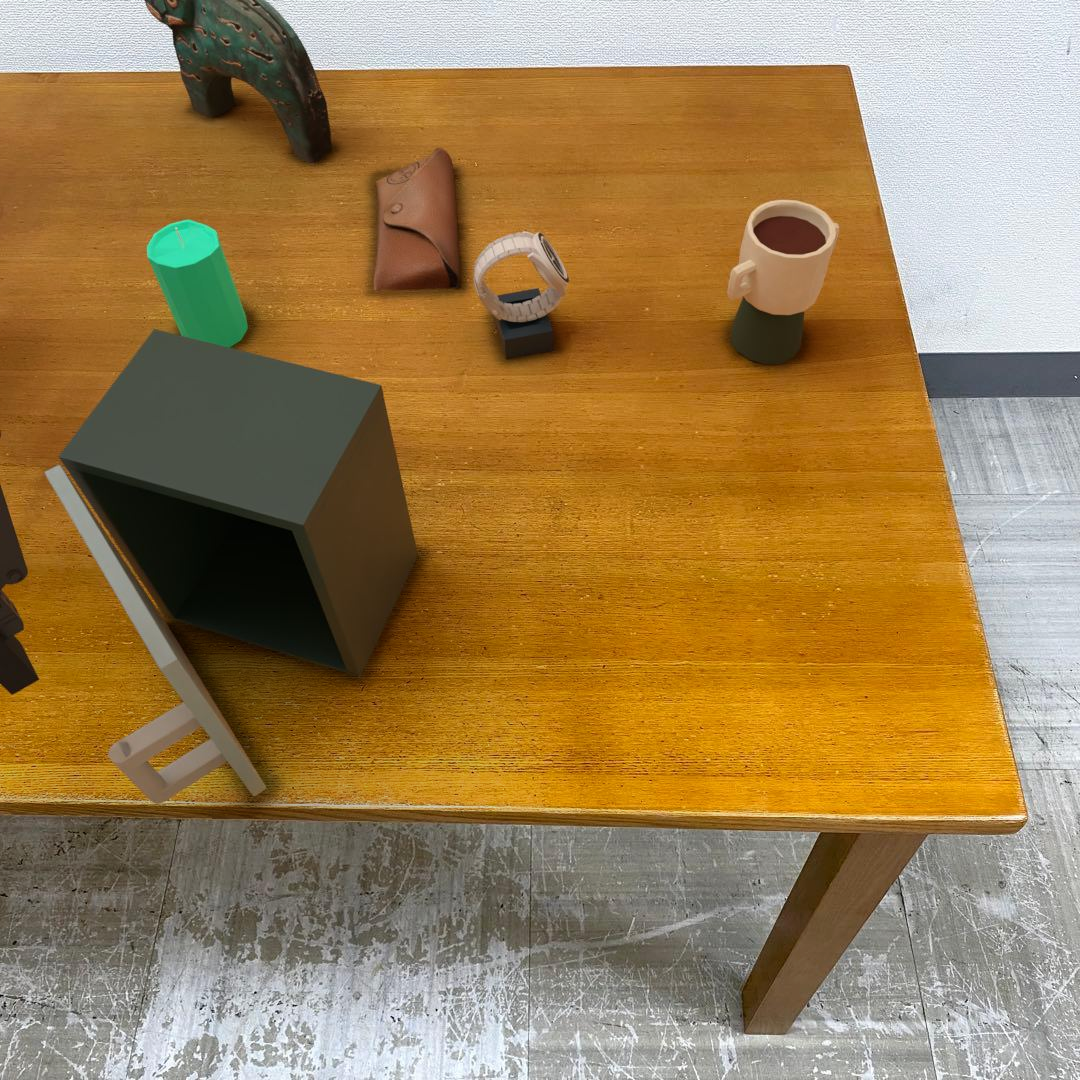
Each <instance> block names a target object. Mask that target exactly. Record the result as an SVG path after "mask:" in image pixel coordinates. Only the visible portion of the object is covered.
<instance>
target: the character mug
mask: <svg viewBox="0 0 1080 1080" xmlns="http://www.w3.org/2000/svg"><path fill="white" fill-rule="evenodd" d="M839 234H840V225H839V223H838V222H834V220H833V219H832V218H831V217H830V216H829V215H828V213H827V212H825V211H824V210H822V209H820V208H819V207H817V206H815V205H814V204H810V203H807V202H803V201H801V200H800V201H799V200H796V199H776V200H770V201H767V202H764V203H761V204H760V205H759V206H757V207H756V208H755V209H754V210H752V211H751V213H750V215H749V217H748V220H747V222H746V224H745V227H744V233H743V238H742V240H741V245H740V249H739V259H738V263H737V265H735V266H734V267H733V268H732V269H731V271H730V275H729V279H728V285H727V290H726V292H727V297H728V299H729V300H731V301H735V300H738V299H741V301H740V303H739V306H738V309H737V311H736V313H735V317H734V319H733V323H732V326H731V328H730V329H731V330H730V344H731V346H732V347H733V348H734V349H735V351H736V352H737V353H738V354H740V355H742V356H743V357H744V358H747V359H748V360H749V361H752V362H756V363H759V364H763V365H766V366H767V365H781V364H784V363H785V362H788V361H789V360H792V359H793V358H795V356H796V355H797V353H798V352H799V350H800V349H801V347H802V340H803V333H804V322H805V311H807V310H808V309H809V308H810V307H811V306H813V305H815V303H816V302H817V300H818V297H819V295H820V293H821V290H822V288H823V285H824V281H825V279H826V274H827V271H828V267H829V264H830V260H831V256H832V255H833V253H834V250H835V248H836V245H837V241H838V239H839V238H838V237H839Z"/></svg>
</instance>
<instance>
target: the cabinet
mask: <svg viewBox="0 0 1080 1080" xmlns="http://www.w3.org/2000/svg"><path fill="white" fill-rule="evenodd" d="M384 396H385V395H384V391H383V385H382V384H378V383H375V382H371V381H366V380H362V379H358V378H354V377H350V376H346V375H341V374H339V373H334V372H330V371H326V370H321V369H318V368H313V367H310V366H307V365H306V366H305V365H302V364H298V363H293V362H289V361H284V360H281V359H278V358H273V357H269V356H265V355H261V354H257V353H253V352H250V351H249V352H248V351H245V350H241V349H237V348H233V347H230V348H229V347H225V346H221V345H217V344H213V343H208V342H204V341H200V340H196V339H192V338H188V337H184V336H181V334H176V333H171V332H168V331H164V330H159V329H153V330H152V331H151V332H150V334H149V335H148V336H147V338H146V339H145V341H144V342H143V343H142V344H141V346H140V347H139V349H138V350H137V351H136V352H135V354H134V355H133V356H132V358H131V359H130V361H129V362H128V363H127V364H126V366H125V367H124V369H123V370H122V371H121V373H120V374H119V375H118V376H117V378H116V379H115V380H114V381H113V383H112V384H111V386H110V387H109V389H108V390H107V391H106V392H105V393H104V394H103V396H102V397H101V399H100V400H99V402H98V403H97V405H96V406H95V407H94V408H93V410H92V411H91V412H90V414H89V415H88V416H87V418H86V419H85V421H84V422H83V423H82V424H81V426H79V428H78V430H77V431H76V432H75V433H74V435H73V436H72V438H71V439H70V440H69V442H67V445H66V446H65V447H64V448H63V450H62V451H61V452H60V453H59V454H58V458H59V461H61V463H62V465H63V466H64V467H65V468H66V470H67V472H68V473H69V475H70V477H71V478H72V479H73V482H75V484H76V485H77V487H78V488H79V490H80V491H81V493H82V495H83V496H84V497H85V499H86V500H87V502H88V503H89V505H90V506H91V508H92V509H93V511H94V513H95V514H96V515H97V517H98V519H99V520H100V521H101V523H102V525H103V526H104V527H105V529H106V531H107V532H108V533H109V535H110V537H111V538H112V539H113V541H114V542H115V544H116V545H117V547H118V549H119V550H120V552H121V553H122V555H123V556H124V557H125V559H126V560H127V562H128V564H129V565H130V567H131V568H132V569H133V571H134V574H136V577H138V578H139V580H140V581H141V583H142V584H143V586H144V587H145V589H146V591H147V592H148V594H149V595H150V597H151V598H152V600H153V601H154V603H155V604H156V605H157V607H158V609H159V610H160V612H161V613H162V615H163V616H164V617H163V618H166V619H169V620H173V621H176V622H178V623H182V624H185V625H188V626H193V627H196V628H198V629H202V630H205V631H208V632H211V633H215V634H218V635H221V636H225V637H227V638H231V639H235V640H238V641H241V642H244V643H247V644H250V645H253V646H258V647H260V648H264V649H267V650H270V651H273V652H276V653H279V654H283V655H286V656H289V657H293V658H296V659H299V660H303V661H306V662H309V663H312V664H315V665H319V666H322V667H325V668H329V669H332V670H335V671H339V672H341V673H344V674H348V675H352V676H354V677H358V678H361V677H362V674H363V672H364V670H365V668H366V666H367V664H368V662H369V659H370V658H371V656H372V655H373V654H372V653H373V652H374V649H375V647H376V645H377V643H378V641H379V639H380V637H381V634H382V632H383V630H384V628H385V626H386V624H387V622H388V620H389V618H390V615H391V614H392V611H393V609H394V607H395V605H396V603H397V601H398V599H399V597H400V595H401V593H402V590H403V588H404V586H405V584H406V582H407V580H408V578H409V576H410V573H411V571H412V569H413V567H414V565H415V563H416V562H417V559H418V556H419V553H418V549H417V543H416V539H415V535H414V530H413V525H412V521H411V520H412V519H411V516H410V512H409V506H408V502H407V498H406V493H405V489H404V484H403V480H402V479H403V478H402V475H401V470H400V464H399V461H398V455H397V452H396V447H395V443H394V438H393V433H392V428H391V423H390V419H389V415H388V411H387V406H386V400H385V397H384Z"/></svg>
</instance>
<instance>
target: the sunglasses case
mask: <svg viewBox="0 0 1080 1080" xmlns="http://www.w3.org/2000/svg"><path fill="white" fill-rule="evenodd" d="M454 173H455V172H454V166H453V159H452V157H451V155H450V154H449V153H448V151H447V150H445V149H444V148H442V147H436V148H435V149H434V150H433V151H432V152H431V153H430V155H427V156H426V157H423V158H421V159H420V160H419V159H418V160H417V161H415V162H413V163H411V164H409V165H407V166H405V167H403V168H400V169H399V170H397V171H394V172H392V173H390V174H388V175H387V176H385V177H382V178H380V179H378V180H377V181H375V191H376V193H375V194H376V200H377V201H376V204H377V234H376V255H375V256H376V257H375V267H374V275H373V291H375V292H379V291H416V290H438V289H439V290H440V289H451V288H455V290H459V288H460V286H461V264H460V249H459V246H460V245H459V232H458V218H457V215H458V214H457V199H456V185H455V174H454Z"/></svg>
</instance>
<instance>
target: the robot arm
mask: <svg viewBox="0 0 1080 1080" xmlns="http://www.w3.org/2000/svg"><path fill="white" fill-rule="evenodd" d="M1 432H2V431H1V429H0V438H1V437H2V434H1ZM18 538H19V537H18V535H17V532H16V529H15V526H14V523H13V519H12V516H11V513H10V510H9V506H8V503H7V501H6V497H5V495H4V491H3V487H2V485H1V483H0V685H1V686H2V687H3V688H4V689H5V690H6V691H7V692H8V693H9V694H10V695H11V696H13V695H15V694H17V693H19V692H20V691H22V690H24V689H26V688H27V687H29V686H31V685H32V684H34V683H37V682H39V681H40V678H39V675H38V673H37V671H36V670H35V668H34V666H33V664H32V662H31V660H30V658H29V655H28V654H27V652H26V650H25V648H24V646H23V644H22V642H21V641H20V640H19V639H18V638H17V637H16V636H15V635H17V634H19V633H21V632H22V631H25V625H24V620H23V619H22V617H21V614H20V613H19V611H18V609H17V607H16V605H15V603H14V602H13V601H12V600H11V599H10V597H9V596H8V595H7V594H6V593H5V592H4V591H3V589H4V587H6V586H7V585H9V586H10V585H15V584H16V585H17V584H19V583H20V582H22V581H23V580H25V579H26V578H27V576H28V574H29V573H28V572H29V571H28V567H27V564H26V561H25V558H24V555H23V551H22V548H21V545H20V542H19V539H18Z"/></svg>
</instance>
